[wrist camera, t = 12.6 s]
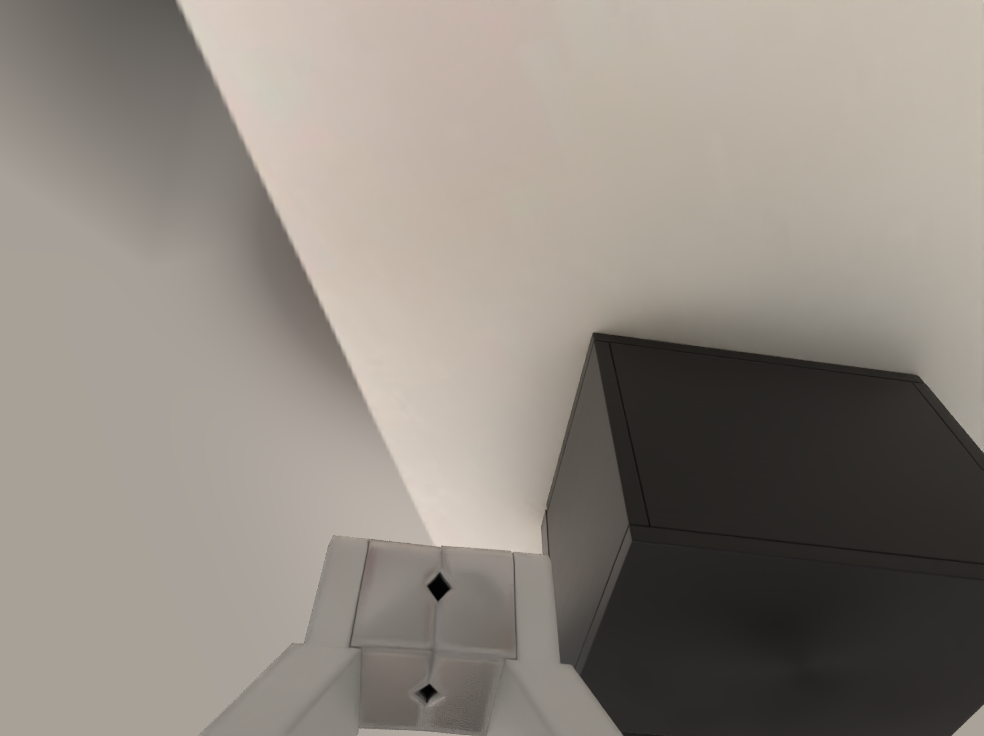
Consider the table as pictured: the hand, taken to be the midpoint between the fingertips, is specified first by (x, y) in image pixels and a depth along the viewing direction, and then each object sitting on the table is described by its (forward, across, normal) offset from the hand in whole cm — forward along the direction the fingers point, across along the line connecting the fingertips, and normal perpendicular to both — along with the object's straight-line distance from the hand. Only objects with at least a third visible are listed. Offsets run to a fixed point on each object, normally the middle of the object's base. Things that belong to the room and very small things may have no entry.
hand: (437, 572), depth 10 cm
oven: (+24, -16, +17) cm, 34 cm away
